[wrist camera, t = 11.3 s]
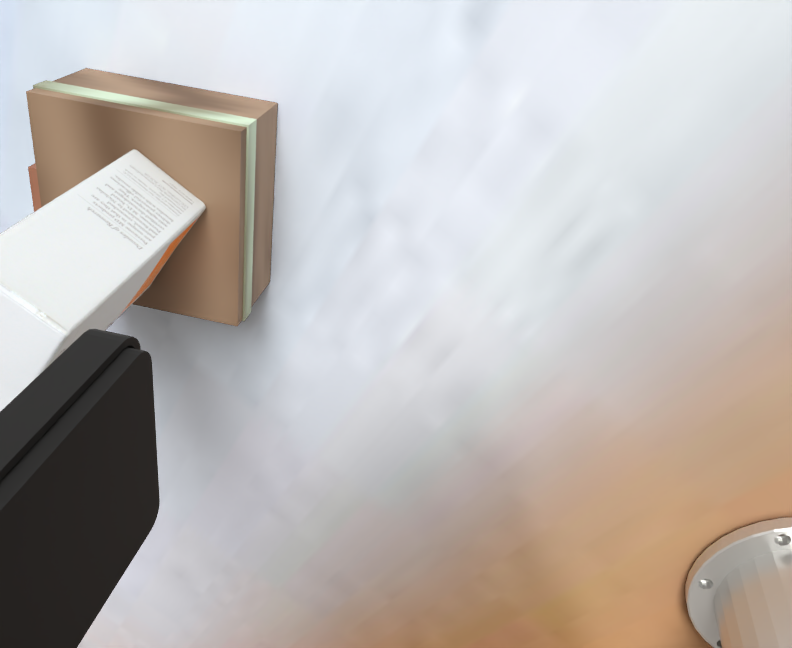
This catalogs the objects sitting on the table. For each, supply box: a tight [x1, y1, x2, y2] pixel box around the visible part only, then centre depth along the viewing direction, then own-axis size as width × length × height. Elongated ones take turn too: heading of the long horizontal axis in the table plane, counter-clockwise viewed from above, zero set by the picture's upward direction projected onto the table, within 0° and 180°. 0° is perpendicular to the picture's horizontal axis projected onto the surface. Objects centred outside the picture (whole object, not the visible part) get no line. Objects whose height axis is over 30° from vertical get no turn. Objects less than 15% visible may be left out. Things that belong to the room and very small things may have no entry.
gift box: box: [26, 68, 278, 326], centre depth 38 cm, size 11×10×5 cm
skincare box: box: [0, 149, 206, 411], centre depth 31 cm, size 6×4×12 cm
